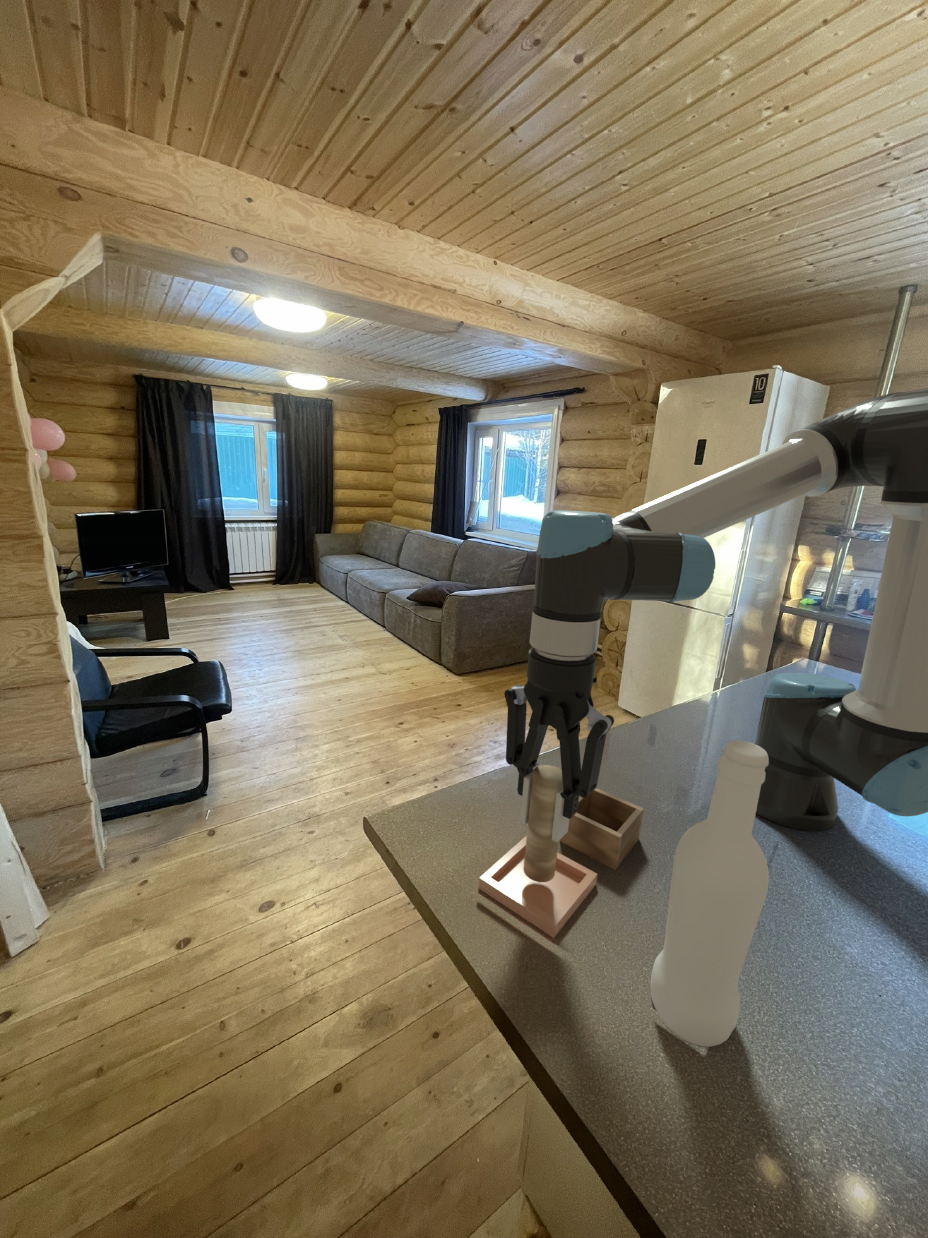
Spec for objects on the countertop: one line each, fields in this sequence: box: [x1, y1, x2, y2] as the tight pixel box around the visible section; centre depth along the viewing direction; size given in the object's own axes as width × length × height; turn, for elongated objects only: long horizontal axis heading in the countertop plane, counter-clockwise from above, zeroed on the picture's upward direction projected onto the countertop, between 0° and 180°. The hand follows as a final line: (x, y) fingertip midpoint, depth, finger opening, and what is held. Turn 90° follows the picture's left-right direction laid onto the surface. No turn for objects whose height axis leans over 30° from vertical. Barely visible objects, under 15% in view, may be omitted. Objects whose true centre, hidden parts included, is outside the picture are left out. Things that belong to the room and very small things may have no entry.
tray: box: [477, 834, 598, 944], centre depth 66 cm, size 11×11×2 cm
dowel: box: [523, 764, 563, 882], centre depth 64 cm, size 4×4×14 cm
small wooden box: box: [559, 787, 645, 871], centre depth 75 cm, size 9×9×6 cm
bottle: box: [650, 739, 770, 1048], centre depth 48 cm, size 8×8×30 cm
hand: (543, 827), depth 64 cm, fingers closed on dowel, 4 cm apart
